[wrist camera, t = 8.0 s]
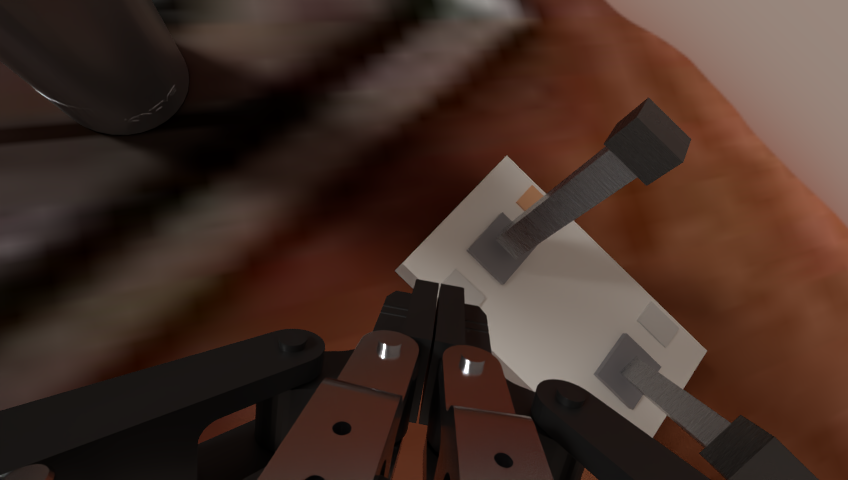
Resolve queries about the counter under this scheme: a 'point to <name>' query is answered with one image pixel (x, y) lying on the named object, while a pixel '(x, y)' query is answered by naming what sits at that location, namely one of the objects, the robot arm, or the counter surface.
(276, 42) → the counter surface
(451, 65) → the counter surface
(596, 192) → the lever
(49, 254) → the counter surface
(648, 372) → the lever
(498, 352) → the switch unit
